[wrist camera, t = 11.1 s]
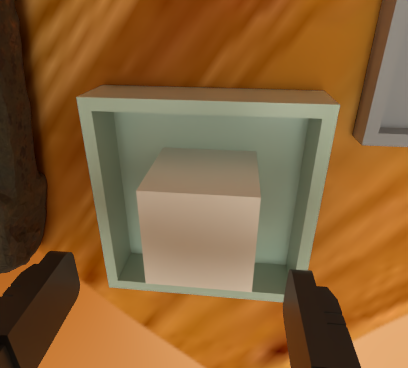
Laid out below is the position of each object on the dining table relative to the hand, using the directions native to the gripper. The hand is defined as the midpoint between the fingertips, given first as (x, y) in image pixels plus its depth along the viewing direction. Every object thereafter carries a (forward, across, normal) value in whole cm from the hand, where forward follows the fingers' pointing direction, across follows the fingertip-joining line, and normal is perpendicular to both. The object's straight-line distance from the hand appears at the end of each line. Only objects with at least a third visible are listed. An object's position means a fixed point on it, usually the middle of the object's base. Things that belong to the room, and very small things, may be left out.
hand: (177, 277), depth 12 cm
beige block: (+7, -1, 0) cm, 7 cm away
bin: (+8, 0, 0) cm, 8 cm away
